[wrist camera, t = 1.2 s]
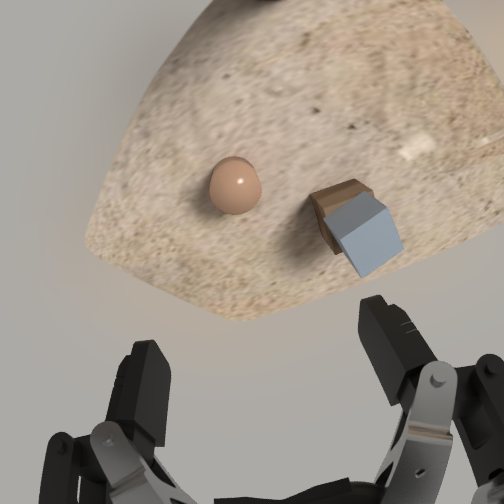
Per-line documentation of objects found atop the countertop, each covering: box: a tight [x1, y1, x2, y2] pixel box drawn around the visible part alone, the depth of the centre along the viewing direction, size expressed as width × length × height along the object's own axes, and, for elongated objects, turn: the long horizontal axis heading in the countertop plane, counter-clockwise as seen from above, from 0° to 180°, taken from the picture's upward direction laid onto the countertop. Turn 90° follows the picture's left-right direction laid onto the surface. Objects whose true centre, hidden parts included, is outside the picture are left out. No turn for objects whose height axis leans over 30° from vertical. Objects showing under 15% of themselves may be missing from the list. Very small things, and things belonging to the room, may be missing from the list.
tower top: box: [323, 191, 404, 278], centre depth 28 cm, size 6×6×5 cm
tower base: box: [310, 179, 374, 255], centre depth 32 cm, size 6×6×5 cm
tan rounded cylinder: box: [209, 156, 261, 215], centre depth 29 cm, size 5×5×5 cm
